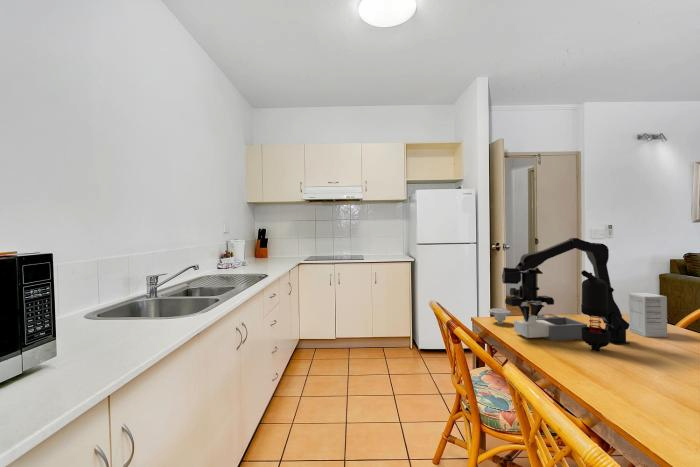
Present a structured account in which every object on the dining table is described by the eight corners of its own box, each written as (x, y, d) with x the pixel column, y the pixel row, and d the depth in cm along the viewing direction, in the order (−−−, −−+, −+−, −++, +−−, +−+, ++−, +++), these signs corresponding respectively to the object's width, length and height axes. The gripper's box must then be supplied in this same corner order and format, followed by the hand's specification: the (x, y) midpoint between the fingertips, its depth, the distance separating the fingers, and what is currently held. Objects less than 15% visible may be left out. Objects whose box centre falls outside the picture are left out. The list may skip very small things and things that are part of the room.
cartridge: (557, 336, 142) (556, 316, 142) (527, 337, 141) (527, 317, 140) (542, 329, 151) (542, 311, 151) (514, 331, 149) (514, 312, 149)
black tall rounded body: (594, 355, 124) (594, 271, 123) (572, 347, 133) (572, 269, 132) (625, 352, 126) (625, 270, 126) (602, 344, 135) (602, 267, 135)
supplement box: (668, 337, 143) (668, 296, 143) (645, 337, 143) (645, 296, 143) (648, 330, 153) (648, 292, 152) (627, 330, 153) (627, 292, 153)
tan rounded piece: (556, 326, 154) (556, 317, 154) (548, 327, 153) (548, 317, 153) (550, 324, 158) (550, 314, 158) (541, 324, 158) (541, 315, 158)
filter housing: (587, 338, 142) (587, 324, 142) (551, 340, 140) (551, 326, 140) (555, 326, 160) (555, 313, 160) (523, 328, 158) (523, 315, 158)
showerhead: (516, 309, 164) (500, 311, 160) (516, 324, 164) (500, 327, 160) (499, 305, 173) (484, 307, 168) (499, 320, 173) (485, 322, 168)
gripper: (537, 280, 154) (537, 315, 155) (497, 282, 152) (498, 317, 152) (555, 284, 143) (555, 322, 143) (512, 286, 141) (513, 324, 141)
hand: (529, 321), depth 145 cm, fingers closed on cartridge, 2 cm apart
